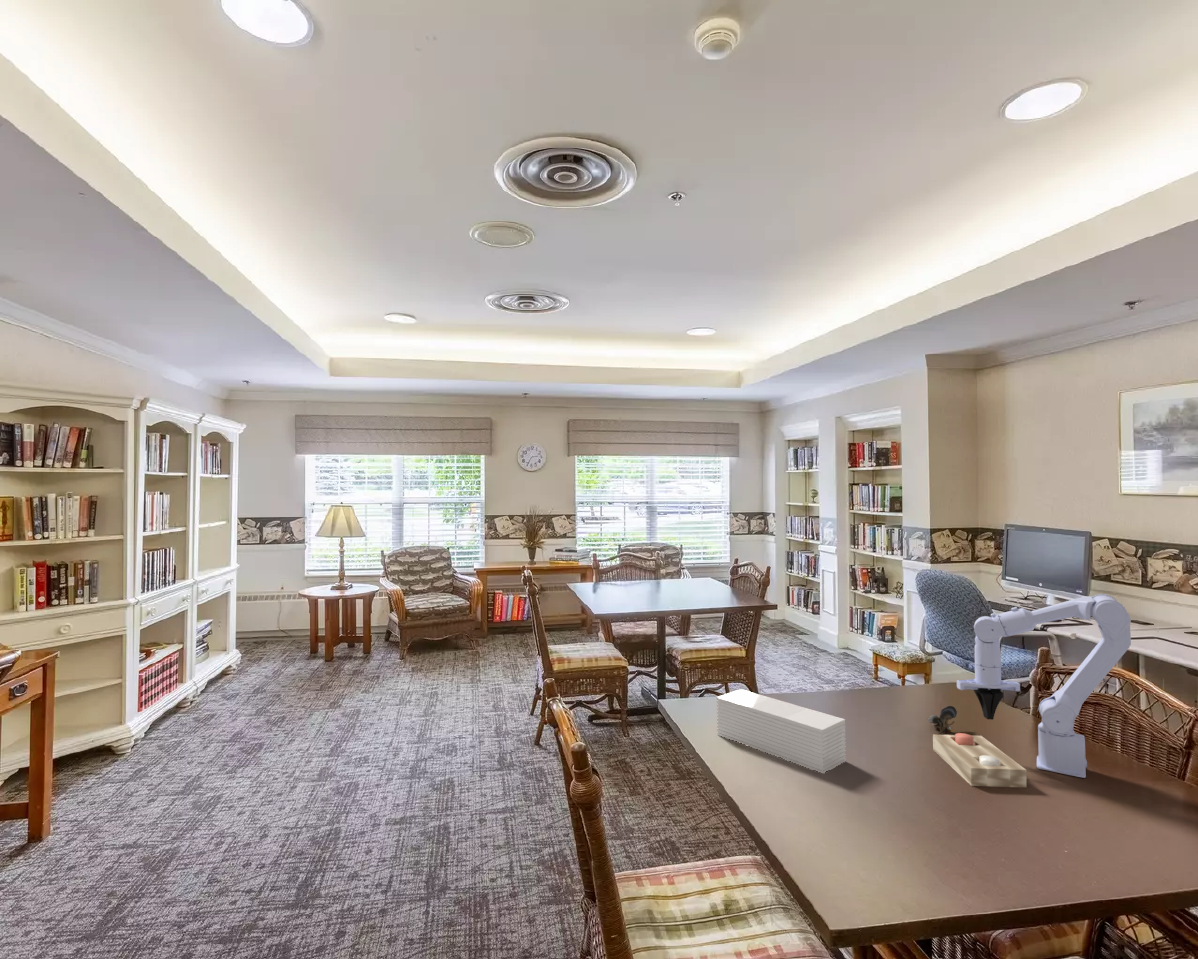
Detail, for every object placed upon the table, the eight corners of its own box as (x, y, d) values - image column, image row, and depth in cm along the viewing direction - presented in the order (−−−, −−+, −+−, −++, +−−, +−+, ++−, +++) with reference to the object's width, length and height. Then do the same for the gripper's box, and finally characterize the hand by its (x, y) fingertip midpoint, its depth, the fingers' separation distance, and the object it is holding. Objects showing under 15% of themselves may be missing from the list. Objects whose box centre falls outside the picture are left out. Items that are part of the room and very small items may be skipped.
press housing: (981, 751, 164) (981, 735, 164) (1026, 787, 144) (1026, 769, 144) (933, 749, 165) (932, 734, 165) (971, 785, 145) (971, 768, 145)
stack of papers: (845, 762, 159) (845, 719, 159) (823, 775, 152) (822, 729, 152) (741, 726, 183) (740, 688, 183) (717, 735, 176) (717, 696, 176)
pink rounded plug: (968, 750, 163) (968, 733, 163) (976, 757, 159) (976, 739, 159) (952, 750, 163) (952, 732, 163) (960, 757, 159) (959, 738, 159)
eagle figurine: (963, 734, 172) (964, 718, 180) (947, 711, 174) (948, 696, 181) (937, 744, 176) (939, 727, 184) (921, 721, 177) (923, 706, 185)
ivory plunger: (993, 774, 151) (993, 755, 151) (1003, 782, 147) (1002, 762, 147) (976, 774, 151) (976, 755, 151) (985, 781, 147) (984, 762, 147)
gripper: (1008, 660, 165) (1009, 713, 165) (950, 659, 167) (951, 711, 167) (1024, 668, 158) (1025, 723, 158) (963, 667, 160) (964, 721, 159)
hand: (988, 718), depth 162 cm, fingers closed
